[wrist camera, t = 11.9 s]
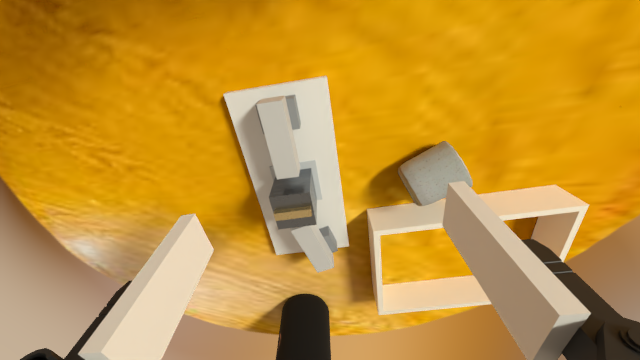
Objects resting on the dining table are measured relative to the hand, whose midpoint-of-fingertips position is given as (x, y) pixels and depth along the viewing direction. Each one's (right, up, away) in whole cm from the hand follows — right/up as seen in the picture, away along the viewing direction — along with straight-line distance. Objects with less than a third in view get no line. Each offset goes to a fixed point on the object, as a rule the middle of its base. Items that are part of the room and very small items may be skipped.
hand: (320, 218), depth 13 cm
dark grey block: (-4, +1, +27) cm, 27 cm away
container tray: (+26, -10, +35) cm, 45 cm away
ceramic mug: (+18, +4, +28) cm, 33 cm away
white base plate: (-4, +2, +28) cm, 28 cm away
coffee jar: (-3, -27, +45) cm, 53 cm away
